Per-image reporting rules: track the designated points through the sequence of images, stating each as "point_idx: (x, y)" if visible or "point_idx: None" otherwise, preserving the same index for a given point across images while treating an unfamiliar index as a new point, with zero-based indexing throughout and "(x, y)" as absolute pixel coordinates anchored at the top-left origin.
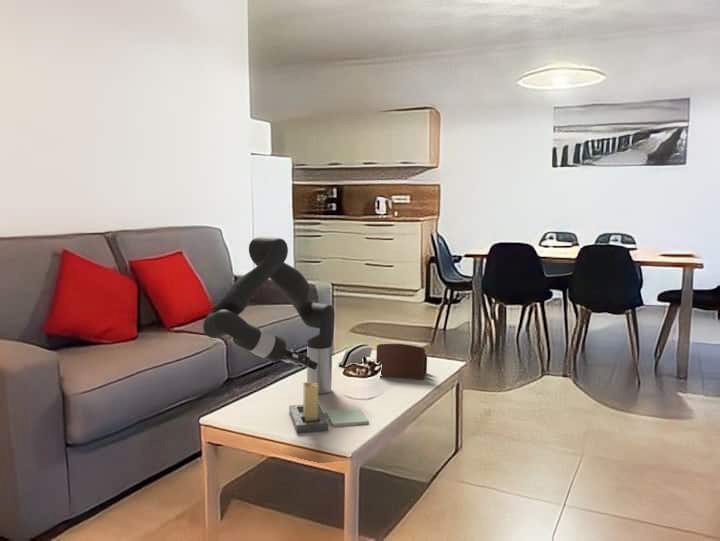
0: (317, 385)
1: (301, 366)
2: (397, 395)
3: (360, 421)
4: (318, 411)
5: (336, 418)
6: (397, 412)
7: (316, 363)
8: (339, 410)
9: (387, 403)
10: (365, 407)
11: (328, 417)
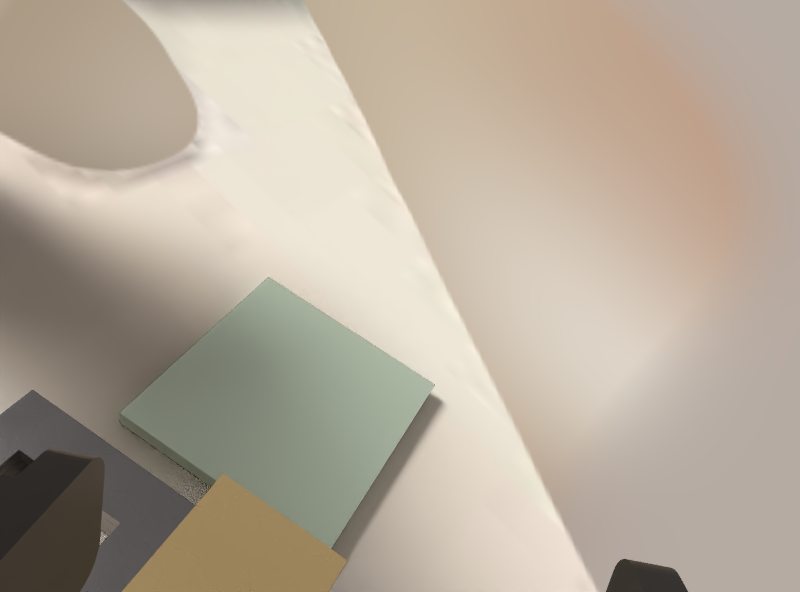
0: (327, 547)
1: (90, 570)
2: (263, 88)
3: (412, 415)
4: (142, 505)
5: (277, 470)
6: (404, 222)
7: (673, 589)
8: (197, 361)
9: (296, 164)
10: (252, 239)
11: (201, 476)
